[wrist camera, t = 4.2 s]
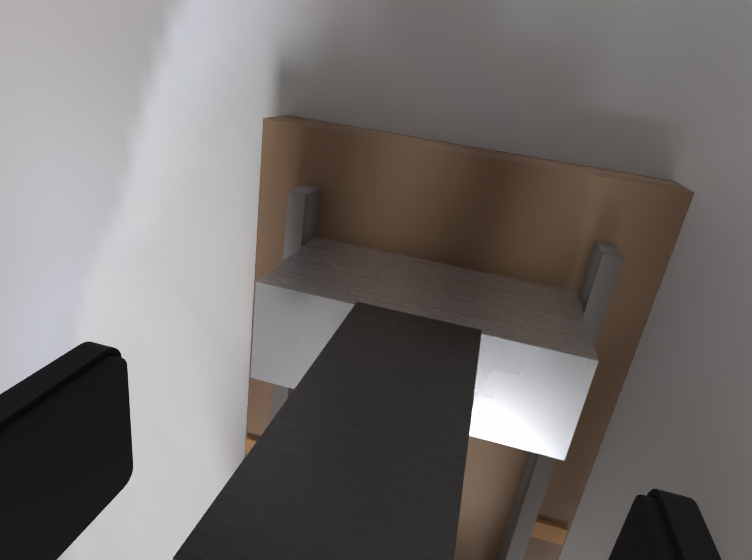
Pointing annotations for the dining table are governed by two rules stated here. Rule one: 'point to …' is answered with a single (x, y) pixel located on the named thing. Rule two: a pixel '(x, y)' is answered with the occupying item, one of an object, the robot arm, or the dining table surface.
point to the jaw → (391, 402)
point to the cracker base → (486, 254)
